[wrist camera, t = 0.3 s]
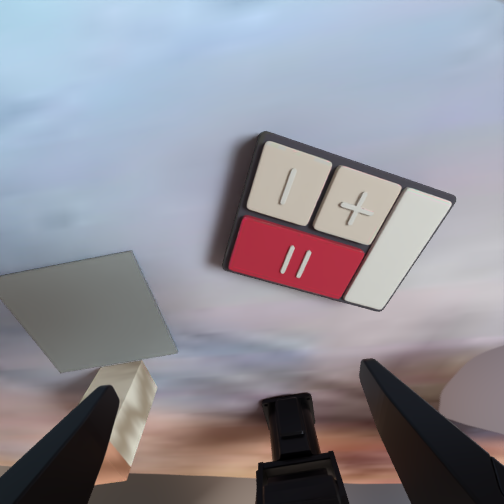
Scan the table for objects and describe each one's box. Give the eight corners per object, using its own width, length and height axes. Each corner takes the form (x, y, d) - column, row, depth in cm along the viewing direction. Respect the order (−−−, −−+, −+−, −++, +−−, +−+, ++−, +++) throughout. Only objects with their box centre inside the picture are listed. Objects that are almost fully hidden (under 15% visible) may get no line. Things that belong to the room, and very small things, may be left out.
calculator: (261, 128, 15) (469, 199, 17) (260, 130, 19) (428, 187, 21) (219, 274, 20) (386, 319, 21) (225, 252, 23) (365, 291, 25)
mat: (178, 351, 28) (177, 353, 27) (62, 370, 28) (60, 373, 28) (131, 250, 22) (130, 251, 22) (-12, 277, 23) (-16, 279, 22)
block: (157, 387, 30) (126, 480, 22) (119, 393, 30) (74, 487, 22) (142, 360, 28) (101, 452, 20) (100, 367, 28) (44, 460, 20)
